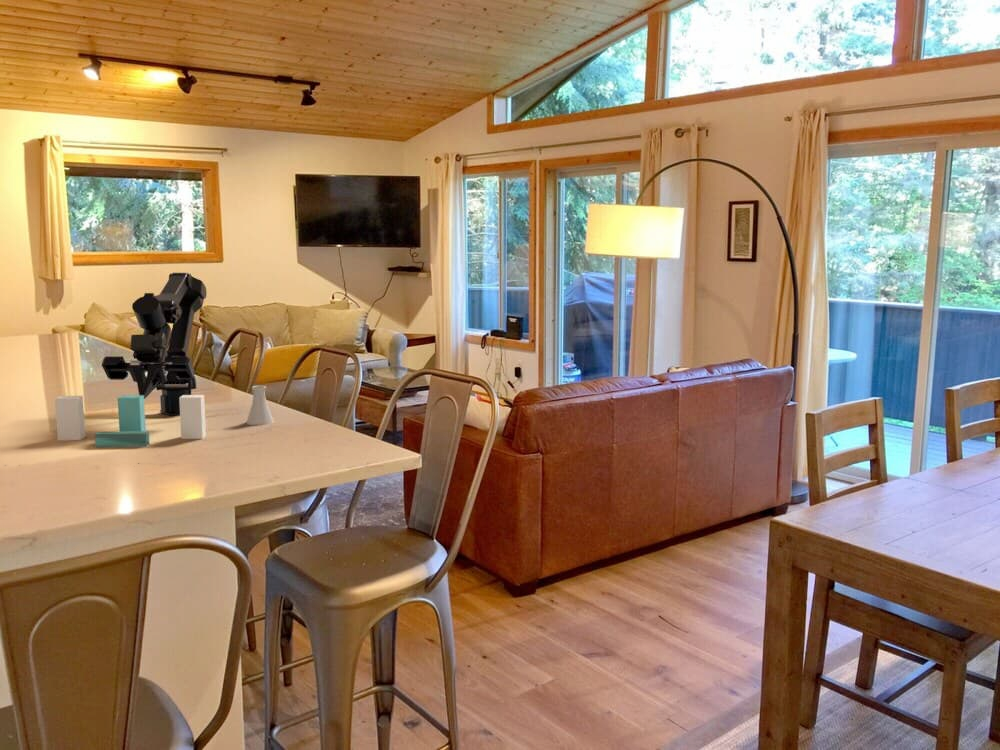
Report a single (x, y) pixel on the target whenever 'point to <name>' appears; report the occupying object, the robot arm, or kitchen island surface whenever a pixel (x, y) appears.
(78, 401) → the grey key
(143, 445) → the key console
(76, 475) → the kitchen island surface
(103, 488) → the kitchen island surface
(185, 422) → the grey key
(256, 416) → the flask
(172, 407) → the robot arm
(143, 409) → the teal key
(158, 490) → the kitchen island surface
